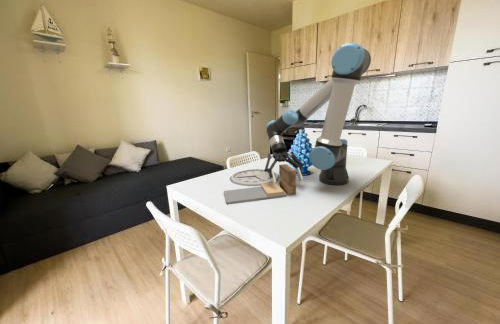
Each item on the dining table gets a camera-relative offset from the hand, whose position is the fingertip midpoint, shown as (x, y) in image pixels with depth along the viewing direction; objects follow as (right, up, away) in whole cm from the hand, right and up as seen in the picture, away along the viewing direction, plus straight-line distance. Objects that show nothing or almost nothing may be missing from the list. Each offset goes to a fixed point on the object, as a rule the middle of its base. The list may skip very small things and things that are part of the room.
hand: (288, 181), depth 106 cm
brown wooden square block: (0, -5, +3) cm, 6 cm away
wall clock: (-16, 0, +26) cm, 30 cm away
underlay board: (-17, -6, 0) cm, 18 cm away
